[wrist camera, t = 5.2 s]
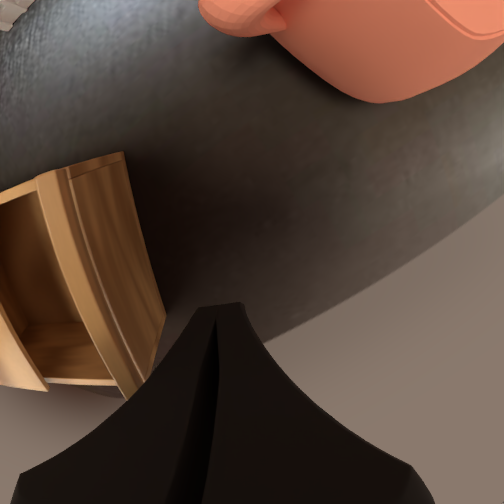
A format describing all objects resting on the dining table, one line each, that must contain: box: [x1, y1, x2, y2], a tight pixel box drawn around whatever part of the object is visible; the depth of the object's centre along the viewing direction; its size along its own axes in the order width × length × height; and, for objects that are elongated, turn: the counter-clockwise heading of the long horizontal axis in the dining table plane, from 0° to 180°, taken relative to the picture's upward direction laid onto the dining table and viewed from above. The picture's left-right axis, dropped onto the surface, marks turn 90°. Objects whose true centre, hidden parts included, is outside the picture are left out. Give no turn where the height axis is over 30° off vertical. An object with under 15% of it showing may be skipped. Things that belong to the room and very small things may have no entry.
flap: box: [34, 169, 144, 401], centre depth 8 cm, size 6×11×1 cm
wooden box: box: [0, 151, 167, 392], centre depth 14 cm, size 13×11×7 cm
